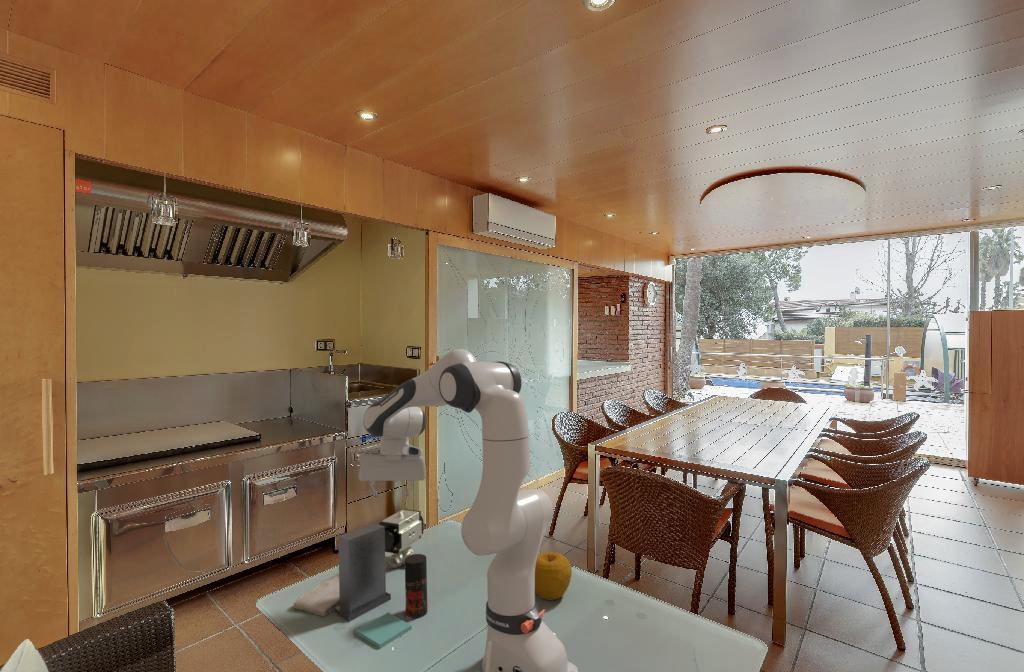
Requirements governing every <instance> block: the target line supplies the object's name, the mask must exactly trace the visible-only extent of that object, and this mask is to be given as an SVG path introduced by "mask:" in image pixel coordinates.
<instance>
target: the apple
mask: <svg viewBox="0 0 1024 672" xmlns="http://www.w3.org/2000/svg"><path fill="white" fill-rule="evenodd" d="M572 571H573V569H572V566H571V564H570V561H569V559H568V558H566V556H564V555H563V554H560V553H558V552H551V551H546V552H541V553H538V556H537V561H536V567H535V594H537V595H538V597H539V598H541V599H542V600H543V599H544V600H548V601H553V600H557V599H560V598H562V597H563V596H564V595H565V593H566V592H567V590H568V588H569V585H570V582H571V579H572V574H573V572H572Z"/></svg>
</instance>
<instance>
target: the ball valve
mask: <svg viewBox="0 0 1024 672" xmlns="http://www.w3.org/2000/svg"><path fill="white" fill-rule="evenodd" d="M379 525H382V526H385V553H390V554H391V555H390V557H389V559H388V563H389V566H390V568H393V569H395V568H399V567H401V566H405V558H406V557H408V556H410V555H413V554H416V553H415V552H414V549H413V547H412V546H411V545H413V544H414V543H416V542H417V541H418V540H420V539H421V538H422V535H423V534H424V518H423V516H422V515H421V510H415V509H408V508H403V509H401V510H399V511H397V512H396V513H393V514H392V515H390V516H388V517H386V518H384V519H383V520H381V521H379Z"/></svg>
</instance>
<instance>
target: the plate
mask: <svg viewBox="0 0 1024 672" xmlns="http://www.w3.org/2000/svg"><path fill="white" fill-rule="evenodd" d="M412 627H413V626H412V624H410V623H408V622H406V621H404V620H403V619H401V618H398V617H397V616H395V615H393V614H392V613H390V612H387V613H385V614H383V615H381V616H380V617H377V618H376V619H374V620H372V621H370V622H368V623H366V624H364V625H363V626H361V627H360V628H358V629H356V631H355V632H356V635H358V637H360V638H362V639H363V640H366V641H367V642H369V643H370V644H372V645H374V646H375V647H377V648H378V649H381V648H383V647H386V646H387V645H388V644H390V643H391V642H393V641H394V640H396V639H398V638H399V637H401V636H403V635H404V634H406V633H408V632H410V631H411V630H412Z"/></svg>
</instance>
